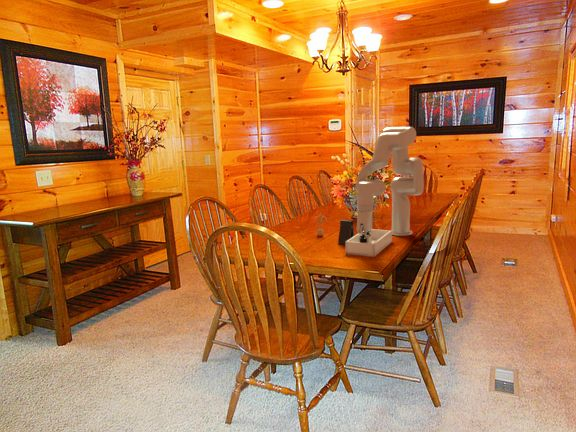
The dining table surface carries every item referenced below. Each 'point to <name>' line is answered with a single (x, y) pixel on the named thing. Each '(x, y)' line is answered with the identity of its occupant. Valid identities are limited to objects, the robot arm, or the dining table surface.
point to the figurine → (320, 232)
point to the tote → (369, 249)
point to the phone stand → (345, 231)
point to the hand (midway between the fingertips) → (365, 244)
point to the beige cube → (368, 238)
